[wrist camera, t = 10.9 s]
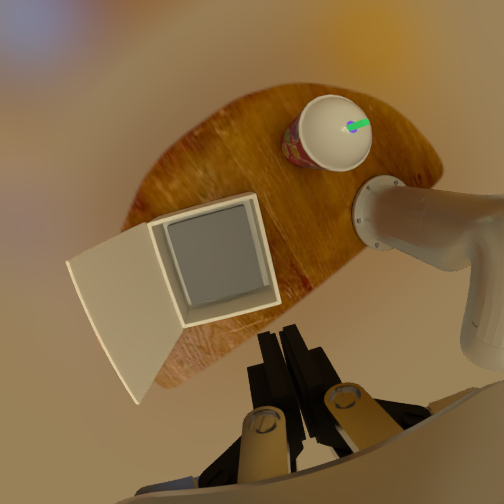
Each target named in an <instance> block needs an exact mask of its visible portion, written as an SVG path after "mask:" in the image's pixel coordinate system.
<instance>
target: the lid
mask: <svg viewBox="0 0 504 504" xmlns="http://www.w3.org/2000/svg"><path fill="white" fill-rule="evenodd" d="M66 264H67V267H68V270H69V273H70V275H71V278H72V281H73V283H74V286H75V288H76V291H77V293H78V296H79V298H80V300H81V303H82V305H83V307H84V309H85V312H86V314H87V316H88V318H89V321H90V322H91V325H92V327H93V329H94V333H95V334H96V337H97V339H98V341H99V342H100V344H101V346H102V348H103V350H104V352H105V354H107V356H108V358H109V360H110V362H111V363H112V365H113V367H114V369H115V370H116V372H117V374H118V376H119V377H120V379H121V381H122V382H123V384H124V386H125V387H126V389H127V390H128V392H129V394H130V395H131V397H132V398H133V400H134V401H135V403H136V404H140V403H141V401H142V399H143V397H144V395H145V394H146V392H147V391H148V389H149V387H150V385H151V384H152V382H153V380H154V379H155V377H156V375H157V374H158V372H159V370H160V368H161V367H162V365H163V363H164V362H165V360H166V358H167V357H168V355H169V353H170V352H171V350H172V348H173V347H174V345H175V343H176V342H177V340H178V338H179V337H180V335H181V333H182V332H183V329H182V326H181V324H180V321H179V319H178V316H177V314H176V311H175V308H174V306H173V303H172V300H171V298H170V295H169V292H168V289H167V287H166V284H165V281H164V278H163V275H162V272H161V269H160V266H159V263H158V260H157V257H156V254H155V251H154V248H153V245H152V242H151V239H150V235H149V232H148V229H147V225H146V222H144V223H141V224H139V225H137V226H135V227H133V228H131V229H129V230H126V231H124V232H122V233H120V234H118V235H116V236H114V237H112V238H110V239H108V240H106V241H104V242H102V243H100V244H98V245H96V246H94V247H92V248H90V249H88V250H86V251H84V252H82V253H80V254H79V255H77V256H75V257H73V258H71V259H69V260H67V261H66Z"/></svg>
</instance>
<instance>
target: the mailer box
mask: <svg viewBox="0 0 504 504" xmlns="http://www.w3.org/2000/svg"><path fill="white" fill-rule="evenodd" d="M147 227H148V231H149V234H150V237H151V240H152V243H153V247H154V250H155V253H156V256H157V259H158V262H159V265H160V268H161V271H162V274H163V277H164V280H165V283H166V285H167V288H168V291H169V294H170V296H171V299H172V302H173V305H174V307H175V310H176V312H177V315H178V318H179V320H180V323H181V325H182V328H187V327H191V326H196V325H200V324H204V323H208V322H213V321H217V320H221V319H225V318H229V317H233V316H237V315H241V314H245V313H249V312H253V311H256V310H260V309H264V308H268V307H271V306H275V305H279V304H282V303H281V299H280V294H279V290H278V285H277V281H276V277H275V272H274V268H273V263H272V259H271V255H270V250H269V246H268V242H267V237H266V233H265V229H264V225H263V220H262V216H261V212H260V208H259V204H258V199H257V195H256V193H253V192H251V191H250V192H246V193H242V194H238V195H234V196H230V197H226V198H222V199H218V200H214V201H211V202H207V203H203V204H200V205H196V206H193V207H189V208H185V209H182V210H178V211H175V212H172V213H168V214H165V215H162V216H158V217H157V218H155V219H153V220H152V221H150V222H148V223H147Z"/></svg>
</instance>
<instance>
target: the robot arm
mask: <svg viewBox="0 0 504 504" xmlns="http://www.w3.org/2000/svg"><path fill="white" fill-rule="evenodd" d="M357 219H358V221H357ZM352 222H353V226H354V229H355V231H356V234H357V236H358V237H359V238H360V240H361V241H362V242H363V243H364V244H366V245H367V246H369V247H371V248H373V249H375V250H380V251H385V250H390V249H393V248H396V249H398V250H400V251H402V252H404V253H406V254H408V255H411V256H413V257H415V258H417V259H419V260H421V261H423V262H425V263H427V264H430V265H432V266H434V267H436V268H438V269H441V270H444V271H458V270H461V269H464V268H466V267H468V266H470V265H471V276H470V286H469V292H468V298H467V303H466V308H465V313H464V317H463V323H462V327H461V334H460V344H461V349H462V351H463V353H464V355H465V356H466V358H467V359H468V360H469V361H471V362H472V363H473V364H475V365H477V366H479V367H481V368H484V369H488V370H492V371H498V372H504V195H503V194H502V195H475V194H464V193H456V192H449V191H442V190H434V189H426V188H417V187H407V186H406V185H405V184H404V183H403V182H402V181H401V180H399V179H398V178H396V177H393V176H389V175H380V176H375V177H373V178H370V179H369V180H368V181H366V182H365V183H364V184H363V185H362V186H361V187H360V189H359V190H358V192H357V194H356V196H355V199H354V202H353V206H352ZM279 335H280V339H281V344H282V348H283V352H284V356H285V360H284V357H283V354H282V351H281V348H280V346H279V343H278V340H277V337H276V334H275V333H273V334H270V332H269V331H267V332H264V333H260V334H257V336H258V340H259V344H260V349H261V353H262V357H263V361H264V363H262V364H258V365H254V366H250V367H247V371H248V378H249V384H250V391H251V397H252V403H253V409H254V410H252V411H251V412H249V413H248V414H247V415H246V417H245V418H244V421H243V426H242V435H241V436H240V437H239V438H238V439H237V440H236V441H235V442H234V443H233V444H232V446H230V447H229V449H227V450H226V451H225V452H224V453H223V454H222V455H221V456H220V457H219V458H218V459H217V460H215V461H214V462H213V463H212V464H211V465H210V466H209V467H208V468H207V469H206V470H204V471H203V473H202V474H201V475H200V476H198V477H195V478H193V477H192V476H189V477H185V478H181V479H177V480H173V481H168V482H164V483H159V484H154V485H148V486H145V487H142V488H140V489H139V490H138V491H137V492H136V494H135V496H133V497H130V498H127V499H124V500H121V501H119V502H117V503H115V504H504V380H503V381H498V382H495V383H492V384H489V385H486V386H484V387H482V388H474V387H472V388H468V389H466V390H463V391H461V392H458V393H456V394H453V395H451V396H448V397H445V398H443V399H440V400H437V401H434V402H432V403H429V405H428V406H427V407H422V406H419V405H412V404H405V403H398V402H391V401H385V400H380V399H374V398H372V397H371V396H370V395H369V394H368V393H367V392H366V391H365V390H364V388H362V387H361V386H360V385H358V384H355V383H350V382H346V383H342V382H341V380H340V378H339V377H338V375H337V373H336V371H335V370H334V368H333V366H332V364H331V363H330V361H329V359H328V357H327V356H326V354H325V352H324V351H323V349H322V348H321V347H317V348H314V349H311V350H308V348H307V347H306V345H305V342H304V341H303V338H302V337H301V334H300V332H299V330H298V329H297V326H296V325H295V324H293V325H289V326H286V327H283V331H280V332H279ZM285 361H286V363H285ZM300 410H301V413H302V416H303V419H304V422H305V425H306V427H307V430H308V433H309V436H310V438H313V437H315V438H316V440H317V443H320V444H323V445H326V446H329V448H330V450H331V452H332V454H333V455H334V457H335V458H336V460H334V461H331V462H328V463H325V464H321V465H318V466H315V467H312V468H308V469H305V470H301V471H298V461H297V457H298V455H299V454H300V453H301V451H302V450H303V444H302V441H303V440H306V437H305V431H304V427H303V422H302V418H301V413H300Z"/></svg>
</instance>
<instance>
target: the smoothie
mask: <svg viewBox="0 0 504 504" xmlns="http://www.w3.org/2000/svg"><path fill="white" fill-rule="evenodd" d="M371 143H372V128H371V125H370V122H369V119H368V117H367V116H366V114H365V113H364V112H363V110H362V109H361V108H359V107H358V106H357V105H356V104H355V103H353V102H352V101H351V100H348V99H346V98H344V97H342V96H337V95H324V96H320V97H317V98H315V99H314V100H312V101H311V102H309V103H308V104H307V106H306V107H305V108H304V109H303V111H302V112H301V113H300V114H299V115H298V116H297V117H296V119H295V120H294V121H293V122H292V123H291V124H290V125H289V127H288V128H287V129H286V130H285V132H284V133H283V135H282V139H281V149H282V151H283V154H284V156H285V157H286V158H287V160H288V161H289V162H291V163H292V164H294V165H295V166H298V167H302V168H313V169H323V170H331V171H342V172H345V171H348V170H351V169H354V168H356V167H357V166H358V165H360V164H361V163H362V162H363V161H364V160H365V158H366V157H367V155H368V154H369V151H370V147H371Z"/></svg>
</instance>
